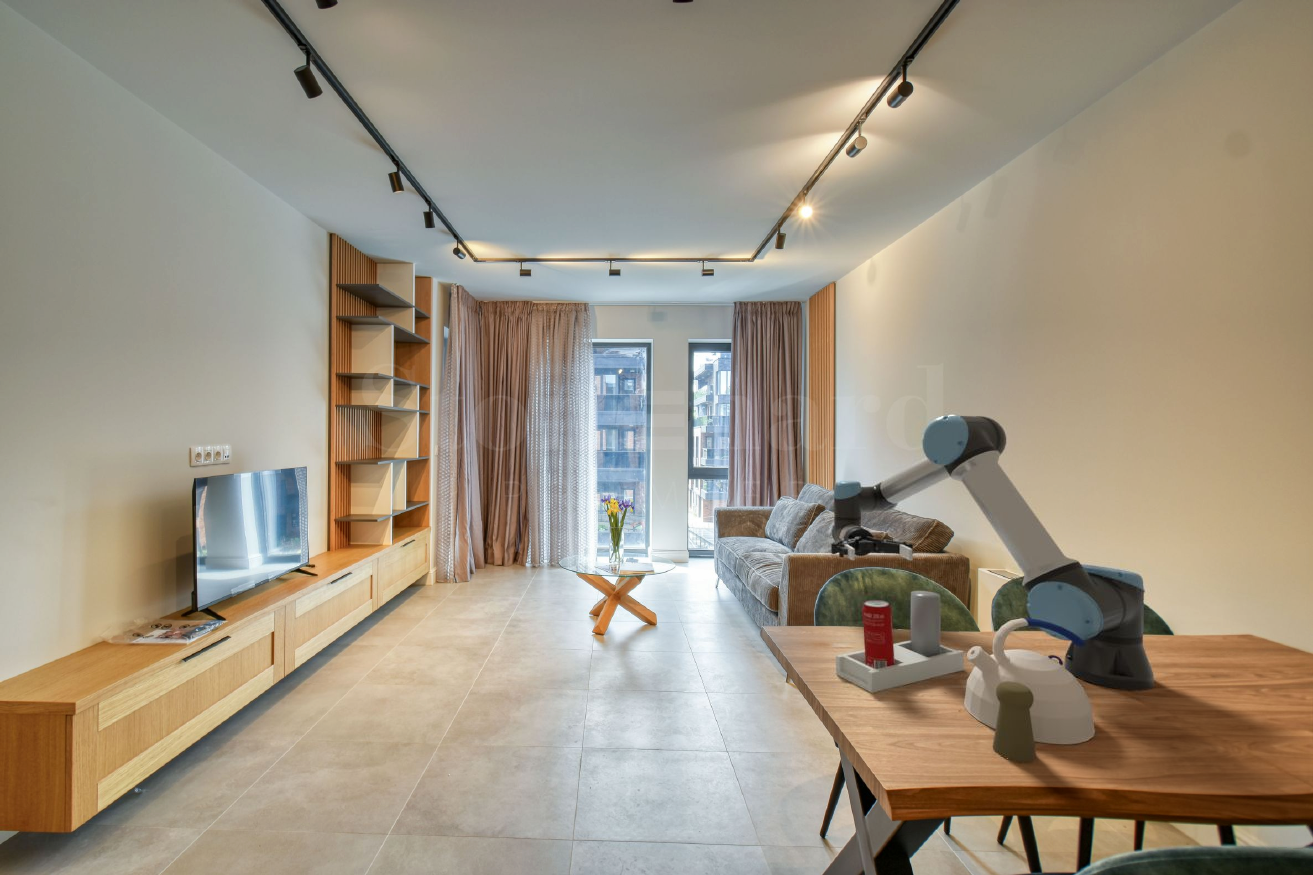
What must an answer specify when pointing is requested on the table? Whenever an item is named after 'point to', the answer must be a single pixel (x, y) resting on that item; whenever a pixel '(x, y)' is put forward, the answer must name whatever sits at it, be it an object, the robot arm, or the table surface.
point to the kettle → (1031, 687)
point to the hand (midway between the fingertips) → (882, 554)
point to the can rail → (907, 652)
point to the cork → (1014, 723)
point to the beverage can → (878, 634)
